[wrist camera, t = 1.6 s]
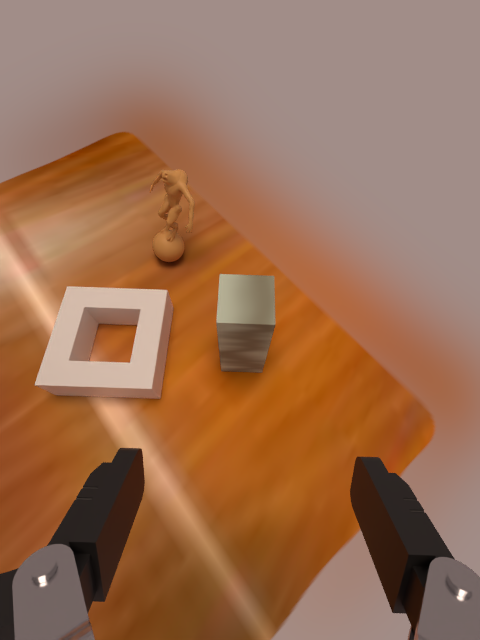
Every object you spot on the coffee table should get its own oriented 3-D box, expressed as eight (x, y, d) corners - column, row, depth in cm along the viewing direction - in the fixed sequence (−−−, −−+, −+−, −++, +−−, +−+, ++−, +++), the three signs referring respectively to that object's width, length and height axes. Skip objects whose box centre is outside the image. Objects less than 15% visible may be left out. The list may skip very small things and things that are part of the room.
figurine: (142, 243, 42) (111, 164, 32) (179, 223, 44) (162, 141, 33) (175, 284, 40) (154, 212, 29) (214, 261, 41) (207, 185, 31)
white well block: (56, 395, 33) (34, 384, 29) (82, 304, 38) (67, 286, 34) (160, 398, 33) (151, 388, 29) (173, 307, 38) (167, 290, 34)
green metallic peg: (221, 371, 35) (216, 322, 24) (223, 334, 37) (219, 274, 26) (261, 372, 35) (275, 324, 24) (261, 335, 37) (274, 276, 26)
